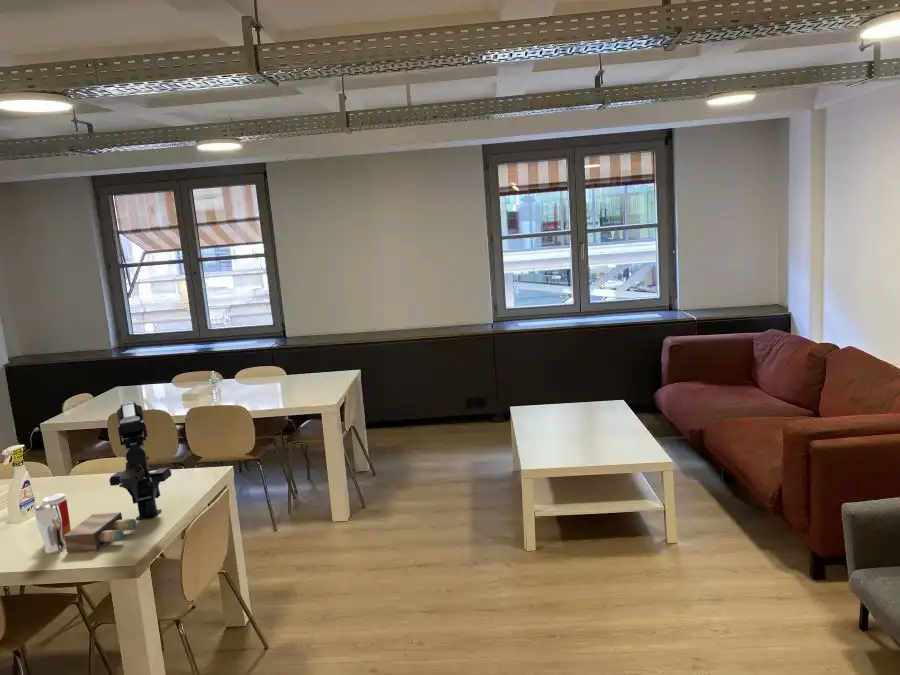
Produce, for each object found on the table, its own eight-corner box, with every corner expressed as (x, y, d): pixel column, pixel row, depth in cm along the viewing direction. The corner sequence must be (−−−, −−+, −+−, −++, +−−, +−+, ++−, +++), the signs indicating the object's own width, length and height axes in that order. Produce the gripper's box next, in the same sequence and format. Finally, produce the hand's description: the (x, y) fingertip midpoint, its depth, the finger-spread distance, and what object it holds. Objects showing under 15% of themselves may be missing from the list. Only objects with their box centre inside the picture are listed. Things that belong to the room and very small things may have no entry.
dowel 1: (98, 539, 224) (96, 529, 224) (124, 537, 224) (122, 527, 223) (92, 544, 221) (89, 534, 220) (118, 543, 220) (116, 532, 219)
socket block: (95, 530, 235) (92, 514, 234) (124, 528, 234) (121, 512, 233) (67, 553, 219) (63, 535, 218) (97, 551, 218) (94, 533, 217)
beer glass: (71, 543, 226) (62, 501, 224) (60, 553, 219) (51, 510, 217) (50, 546, 226) (41, 503, 224) (38, 556, 219) (29, 512, 217)
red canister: (46, 537, 234) (38, 498, 232) (70, 528, 239) (62, 491, 237) (52, 542, 229) (44, 503, 226) (77, 534, 234) (69, 495, 231)
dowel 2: (111, 528, 232) (109, 518, 231) (137, 526, 231) (135, 517, 231) (105, 533, 229) (103, 523, 228) (131, 531, 228) (129, 521, 227)
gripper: (95, 467, 218) (104, 513, 220) (151, 463, 216) (160, 509, 219) (114, 455, 229) (123, 499, 231) (168, 451, 227) (176, 495, 230)
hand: (145, 500), depth 227 cm, fingers open, 6 cm apart
